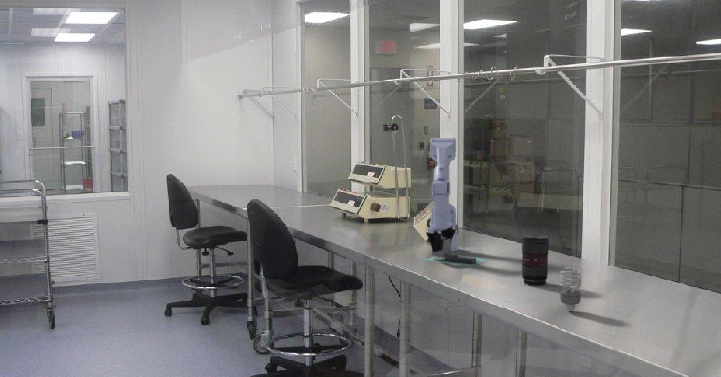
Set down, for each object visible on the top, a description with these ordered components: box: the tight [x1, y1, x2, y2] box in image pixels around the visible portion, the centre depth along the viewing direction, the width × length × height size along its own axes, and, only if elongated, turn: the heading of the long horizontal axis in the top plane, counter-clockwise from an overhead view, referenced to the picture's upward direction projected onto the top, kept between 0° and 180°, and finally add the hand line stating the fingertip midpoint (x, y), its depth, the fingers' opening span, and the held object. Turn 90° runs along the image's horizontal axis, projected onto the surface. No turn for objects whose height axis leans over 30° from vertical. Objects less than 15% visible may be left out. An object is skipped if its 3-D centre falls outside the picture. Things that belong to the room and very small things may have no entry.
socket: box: [431, 237, 452, 257], centre depth 273 cm, size 5×5×7 cm
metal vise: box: [432, 253, 477, 265], centre depth 270 cm, size 17×6×4 cm, turn 49°
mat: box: [423, 254, 491, 268], centre depth 273 cm, size 15×20×1 cm
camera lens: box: [521, 234, 550, 287], centre depth 233 cm, size 8×8×15 cm
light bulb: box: [559, 266, 583, 311], centre depth 201 cm, size 6×6×12 cm
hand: (441, 250), depth 274 cm, fingers open, 7 cm apart
